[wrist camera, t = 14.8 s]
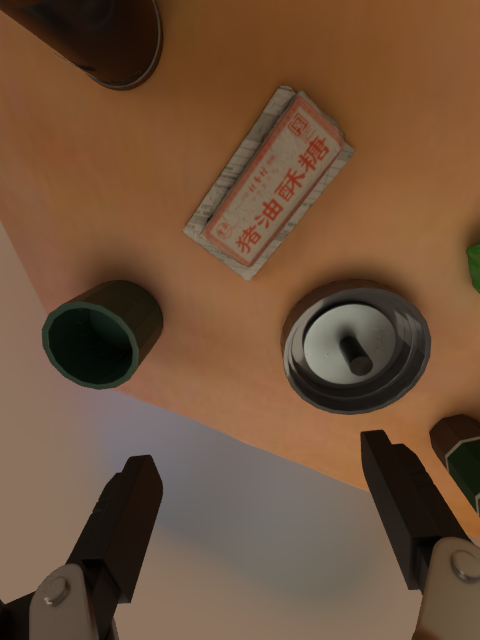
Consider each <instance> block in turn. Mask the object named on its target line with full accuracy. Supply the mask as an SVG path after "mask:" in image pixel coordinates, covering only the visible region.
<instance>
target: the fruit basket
mask: <svg viewBox="0 0 480 640" xmlns="http://www.w3.org/2000/svg"><path fill="white" fill-rule="evenodd" d="M466 252H467V255H468V256H469V257H470V258H469V267H470V273H471V276H472V278H473V279H474V280H473V287H474V288H475V289H476V290H477V291H478V292H479V293H480V244H478V245H475V246H472V247H470V248H468V249H467V250H466Z"/></svg>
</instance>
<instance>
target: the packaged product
mask: <svg viewBox="0 0 480 640" xmlns="http://www.w3.org/2000/svg"><path fill="white" fill-rule="evenodd" d="M344 135H345V134H344V132H343V131H342V130H341V129H339V127H338V124H337V121H335V120H334V119H333V118H332V117H330V116H329V115H328V114H327V113H325V112H324V111H323V110H321V109H320V108H319V107H318V106H317V105H316V103H315V102H313V101H311V100H310V99H309V97H308V96H307V94H306V93H305V91H304V90H302V89H301V90H300V91H298V93H296V92H295V91H294V90H293V89H291V88H290V87H289V86H281V85H280V86H279V88H278V89H277V91H276V92H275V94H274V95H273V97H272V98H271V100H270V102H269V103H268V105H267V106H266V108H265V109H264V111H263V112H262V114H261V115H260V117H259V118H258V120H257V121H256V123H255V124H254V126H253V127H252V128H251V130H250V131H249V133H248V134H247V136H246V137H245V139H244V140H243V142H242V143H241V145H240V146H239V148H238V149H237V151H236V152H235V154H234V155H233V156H232V158H231V159H230V161H229V162H228V164H227V165H226V167H225V168H224V170H223V171H222V173H221V174H220V176H219V177H218V179H217V181H216V182H215V184H214V185H213V187H212V188H211V190H210V191H209V193H208V194H207V195H206V197H205V198H204V200H203V201H202V203H201V204H200V206H199V207H198V209H197V210H196V212H195V213H194V215H193V216H192V218H191V219H190V221H189V222H188V223H187V225H186V226H185V228H184V229H183V231H182V232H184V233H185V234H186V235H188V236H189V237H190V238H191V239H193V240H194V241H195V242H197V243H198V244H199V245H201V246H202V247H203V248H204V249H206V250H207V251H208V252H210V253H211V254H212V255H214V256H215V257H216V258H217V259H219V260H220V261H222V262H223V263H224V264H226V265H227V266H228V267H229V268H231V269H232V270H233V271H235V272H236V273H237V274H239V275H240V276H241V277H243V278H244V279H245V280H247V281H248V282H249V281H250V280H251V279H252V277H253V276H254V275H255V274H256V273H257V272H258V270H259V269H260V268H261V267H262V266H263V264H264V263H265V262H266V261H267V259H268V258H269V257H270V256H271V254H272V253H273V252H274V251H275V250H276V248H277V247H278V246H279V245H280V244H281V242H282V241H283V240H284V239H285V237H286V236H287V235H288V234H289V232H290V231H291V230H292V229H293V227H294V226H295V225H296V224H297V223H298V222H299V220H300V219H301V218H302V217H303V215H304V214H305V212H306V210H307V209H308V208H309V207H311V205H312V204H313V203H314V202H315V200H316V199H317V198H318V197H319V196H320V195H321V194H322V192H323V191H324V190H325V188H326V187H327V186H328V184H329V183H330V182H331V181H332V180H333V178H334V177H335V176H336V175H337V174H338V172H339V171H340V170H341V169H342V167H343V166H344V165H345V164H346V163H347V162H348V160H349V159H350V158H351V157H352V155H353V154H354V153H355V150H353V149H352V148H351V146H350V145H349V144H348V143H347V142H346V141H345V140H344V138H343V136H344Z"/></svg>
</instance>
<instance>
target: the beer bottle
mask: <svg viewBox="0 0 480 640" xmlns="http://www.w3.org/2000/svg"><path fill="white" fill-rule="evenodd" d="M430 437H431V443H432V448H433V450H434V451H435V453H436V455H437V456H438V458H439V459H440V461H441V462H442V464H443V465H444V467H445V468H446V469H447V471H448V472H449V474H450V475H451V477H452V478H453V480H454V481H455V482H456V484H457V485H458V487H459V488H460V490H461V491H462V492H463V494H464V495H465V497H466V498H467V500H468V501H469V503H470V504H471V505H472V507H473V508H474V510H475V511H476V513H477V514H478V515H479V517H480V422H478V421H476V420H474V419H471V418H469V417H467V416H465V415H457V416H453V417H448V418H444V419H442V420H441V421H440V422H439V423H438V424H437V425H436V426H435V427H434V428H433V429H432V430H431V431H430Z"/></svg>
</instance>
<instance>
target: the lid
mask: <svg viewBox="0 0 480 640" xmlns="http://www.w3.org/2000/svg"><path fill="white" fill-rule="evenodd" d="M395 343H396V337H395V331H394V328H393V326H392V324H391V322H390V320H389V319H388V318H387V317H386V316H385V315H384V314H383V313H382V312H381V311H379V310H378V309H376V308H374V307H372V306H369V305H366V304H361V303H346V304H341V305H338V306H335V307H332V308H330V309H328V310H326V311H325V312H323V313H322V314H320V315H319V316H318V317H317V318H316V319H315V320H314V321H313V322H312V324H311V325H310V327H309V328H308V330H307V332H306V335H305V338H304V345H303V348H304V355H305V359H306V361H307V363H308V365H309V367H310V368H311V370H312V371H313V372H314V373H315V374H316V375H318V376H319V377H321V378H322V379H324V380H327V381H329V382H332V383H337V384H353V383H358V382H362V381H364V380H367V379H369V378H371V377H373V376H374V375H376V374H377V373H379V372H380V371H381V370H382V369H383V368H384V367H385V366H386V365H387V363H388V362H389V361H390V359H391V357H392V355H393V352H394V349H395Z"/></svg>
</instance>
